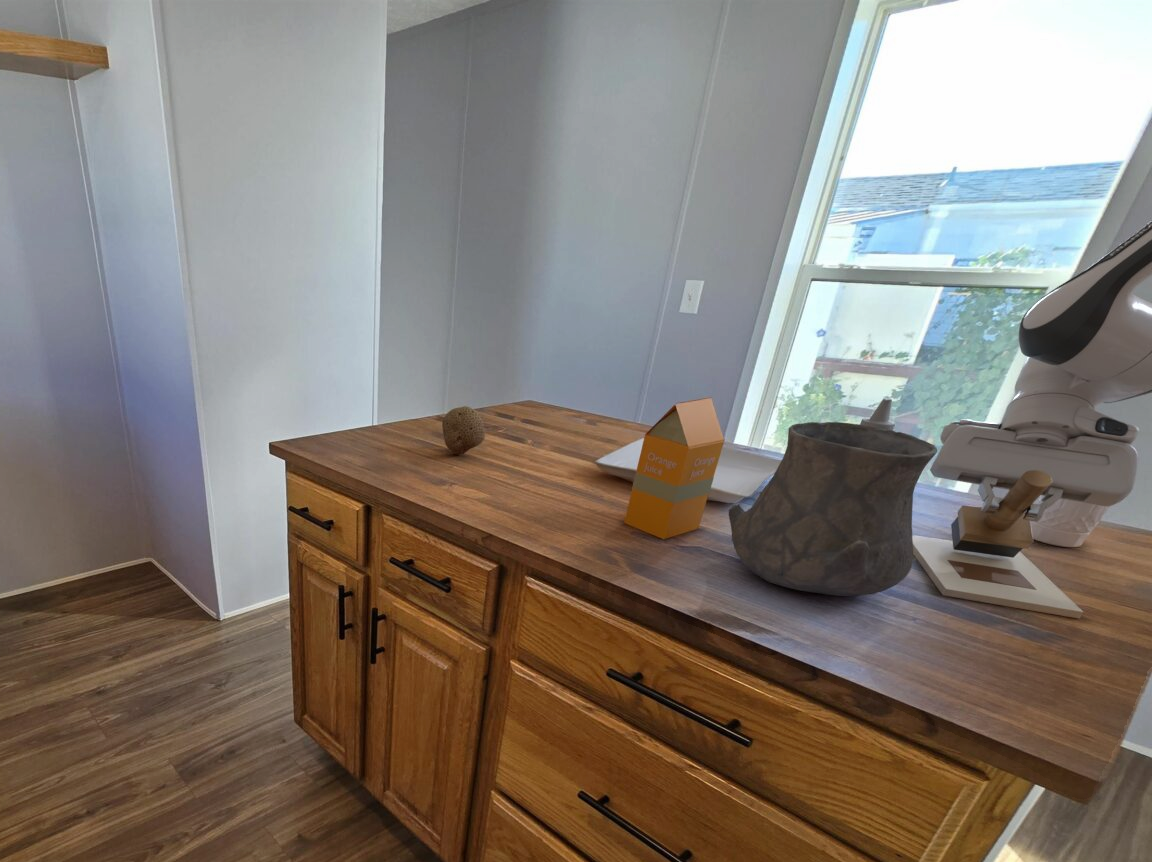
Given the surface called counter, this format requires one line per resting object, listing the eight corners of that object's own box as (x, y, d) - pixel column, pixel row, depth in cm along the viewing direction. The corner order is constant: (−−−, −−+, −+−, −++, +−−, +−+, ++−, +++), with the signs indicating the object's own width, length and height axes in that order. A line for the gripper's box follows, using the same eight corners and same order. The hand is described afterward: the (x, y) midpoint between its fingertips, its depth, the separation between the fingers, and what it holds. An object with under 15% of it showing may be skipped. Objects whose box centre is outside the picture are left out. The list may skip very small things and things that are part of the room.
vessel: (753, 531, 104) (797, 404, 95) (919, 585, 89) (992, 440, 79) (680, 566, 93) (721, 426, 83) (856, 635, 78) (932, 472, 68)
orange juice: (699, 528, 105) (737, 402, 95) (664, 539, 101) (699, 408, 91) (657, 512, 111) (689, 392, 101) (622, 522, 107) (652, 397, 97)
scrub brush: (1012, 530, 97) (1072, 466, 86) (1016, 559, 94) (1078, 497, 84) (948, 522, 99) (999, 459, 89) (950, 550, 97) (1003, 489, 86)
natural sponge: (483, 450, 142) (488, 403, 137) (482, 462, 134) (488, 413, 129) (441, 447, 143) (445, 400, 138) (438, 459, 135) (442, 410, 130)
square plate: (646, 449, 144) (651, 431, 142) (785, 479, 127) (792, 459, 125) (589, 477, 127) (593, 457, 125) (740, 515, 110) (748, 494, 108)
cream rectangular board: (1015, 556, 98) (1019, 550, 97) (1079, 618, 82) (1084, 611, 81) (902, 539, 103) (905, 533, 102) (942, 595, 87) (946, 588, 86)
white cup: (1082, 553, 99) (1121, 491, 94) (1013, 536, 104) (1047, 476, 99) (1090, 540, 103) (1128, 480, 98) (1024, 525, 108) (1057, 466, 104)
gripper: (954, 405, 95) (922, 486, 93) (1158, 430, 84) (1126, 523, 82) (941, 429, 100) (910, 507, 98) (1130, 456, 89) (1100, 544, 87)
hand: (1010, 514), depth 90 cm, fingers closed on scrub brush, 3 cm apart
